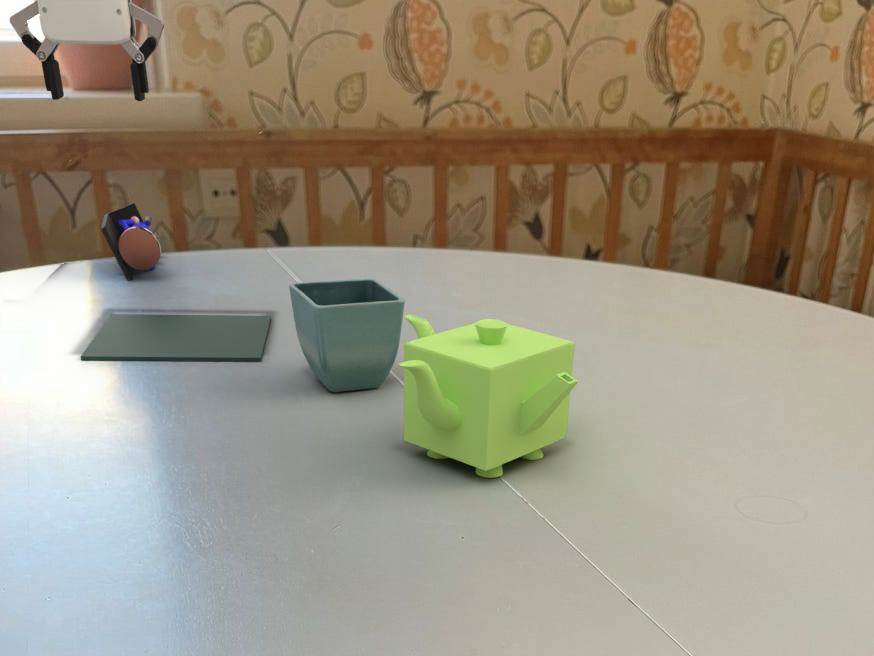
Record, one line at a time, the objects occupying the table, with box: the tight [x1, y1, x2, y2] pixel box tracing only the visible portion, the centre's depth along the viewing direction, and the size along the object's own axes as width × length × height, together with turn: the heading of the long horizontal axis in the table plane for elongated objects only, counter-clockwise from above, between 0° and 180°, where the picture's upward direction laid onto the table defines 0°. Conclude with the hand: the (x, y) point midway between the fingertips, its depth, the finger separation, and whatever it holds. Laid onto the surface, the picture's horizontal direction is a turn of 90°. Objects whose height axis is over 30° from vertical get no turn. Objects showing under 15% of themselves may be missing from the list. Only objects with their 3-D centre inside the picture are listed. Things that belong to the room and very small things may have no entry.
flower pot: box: [288, 278, 406, 393], centre depth 101 cm, size 9×9×9 cm
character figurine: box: [100, 202, 162, 281], centre depth 137 cm, size 8×7×15 cm
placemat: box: [80, 313, 272, 362], centre depth 114 cm, size 18×16×1 cm
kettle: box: [398, 314, 579, 479], centre depth 86 cm, size 15×14×11 cm
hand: (99, 99), depth 126 cm, fingers open, 9 cm apart
